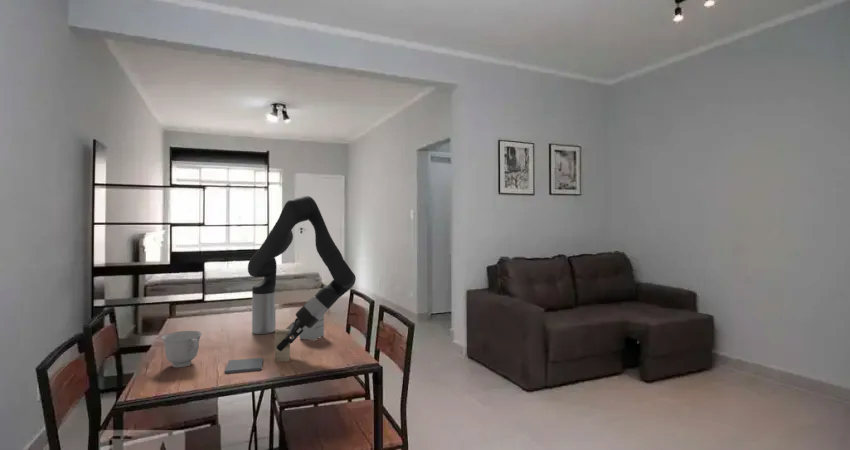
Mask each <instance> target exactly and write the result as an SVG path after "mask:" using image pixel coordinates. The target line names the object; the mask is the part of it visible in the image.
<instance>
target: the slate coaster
mask: <svg viewBox="0 0 850 450" xmlns="http://www.w3.org/2000/svg"><path fill="white" fill-rule="evenodd" d="M263 363H264V358H263V357H256V358H254V357H253V358H244V359H242V358H241V359H240V358H239V359H232V360H228V362H227V364H226V367H225V368H224V374H232V373H233V374H234V373H235V374H236V373H243V372H256V371H262V369H263V368H262V367H263Z"/></svg>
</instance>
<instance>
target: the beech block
mask: <svg viewBox="0 0 850 450" xmlns="http://www.w3.org/2000/svg"><path fill="white" fill-rule="evenodd" d="M289 330H290V329H286V328H280V329H275V331H274V363H277V362H278V363H279V361H281V362H290V361H291V344H288V345H287V346H286V347H285V348H284V349H283V350H282V351H279V350H278V349H277V346H278V345H279V344H280V342H281V341H282V340H283V339H284V338H285V337H286V336H287V332H288V331H289ZM289 338H290V339H291V337H289Z"/></svg>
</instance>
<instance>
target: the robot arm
mask: <svg viewBox="0 0 850 450" xmlns="http://www.w3.org/2000/svg"><path fill="white" fill-rule="evenodd" d="M305 221H309V222H310V224H311V225H312V227H313V229H314V235H315V236H314V237H315V247H316V252H317V253H318V256H319V257H320V258H321V260H322V262H323V263H324V265H325V266H326V267H327V269H328V271H329V273H330V275H331V277H332V280H331V281H330V283H329V284H327V285H324V286H323V287H322V288H320V290H318V292H317V293H316V294H314V296H313V297H311V298H310V299H309V300H307V302H306V303H304V305H303V306H302V307H300V308H299V309H298V311H296V313H295V316H296V318H295V319H294V320H293V322H291V323H290V325H288V326H287V327H286V328H285V329H290V330H289V331H288V332H287V336H286V337H285V338H284V339H283V340H282V341H281V342H280V344H279V345H278V346H277V349H278V350H279V351H282V350H283V349H284V348H285V347H286V346H287V345H288V344H290V345H291V344H293V343H294V342H295V340H296V339H297V338H298V337H300V334H301V333H302V332H303V328H304V326H307V327H308V328H312V327H313V326H314V324H315V323H316V322H317V321H318V320H319V319H320V318H321V317H322V316H323V315H324V316H325V315H326V313H327V311H328V310H329V309H330V308H331V307H332V306H333V305H334V304H335V303H336V302H337V301H338V299H340V298H341V297H342V296H343V295H345V294H346V293H347V292H348V291H349V290H350V289H352V287H353V286H354V285H355V284H356V275H355V273H354V272H353V270H352V269H351V268H350V267H349V265H348V264H347V262H346V261H345V259H344V257H343V254H342V252H341V251H340V250H339V248H338V246H337V244H336V243H335V242H334V240H333V238H332V236H331V234H330V232H329V230H328V227H327V225H326V222H325V220H324V217H323V216H322V213H321V210H320V208H319V205H317V203H316V201H315V199H314V198H313V197H311V196H309V195H304V196H298V197H294V198H291V199H289V200H287V201H286V202H285V204H284V205H283V208H282V210H281V213H280V214H279V217H278V219H277V220H276V222H275V223H274V225H273V227H272V228H271V230H270V231H269V233H268V235H267V237H266V238H265V239H264V242H263V243H262V245H261V246H260V247H259V248H258V249H257V251H255V253H254V254H253V255H251V257H250V259H249V261H248V264H247V272H248V275H250V277H252V278H263V280H262V281H260V282H259V283H257V284H255V285H254V286H252V289H251V292H252V293H251V295H252V297H251V298H252V300H251V301H252V306H251V307H252V310H251V311H252V313H251V314H252V315H251V319H252V320H251V324H252V325H251V332H252V334H253V335H266V334H271V333H275V330H276V304H275V303H276V302H275V301H276V300H275V299H276V298H275V297H276V296H275V295H276V291H275V290H276V285H277V284H276V283H277V267H278V265H277V259H276V258H278V257H279V256H281V255H282V254H283V253H285V252H286V251H287V249H288V248H289V247H290V245H291V244H292V242H293V239H294V235H293V234H294V233H293V231H292V230H293V228H294V227H295V226H296V225H298V224H300V223H301V222H302V223H303V222H305ZM289 337H290V338H289Z"/></svg>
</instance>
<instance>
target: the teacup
mask: <svg viewBox="0 0 850 450" xmlns="http://www.w3.org/2000/svg"><path fill="white" fill-rule="evenodd" d="M202 335H203V333H202V332H201V331H197V330H181V331H174V332H169V333H167V334H164V335H162V336H161V340H162V341H163V343H164V350H165V356H166V357H165V358H166V359H167V360H168V362H170V363H172V365H171V366H172V367H173V368H184V367H188V366H190V365H191V364H193V363H192V361H193V360H194V359H195V358H196V357H197V355H198V351H199V346H200V338H201V336H202Z"/></svg>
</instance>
